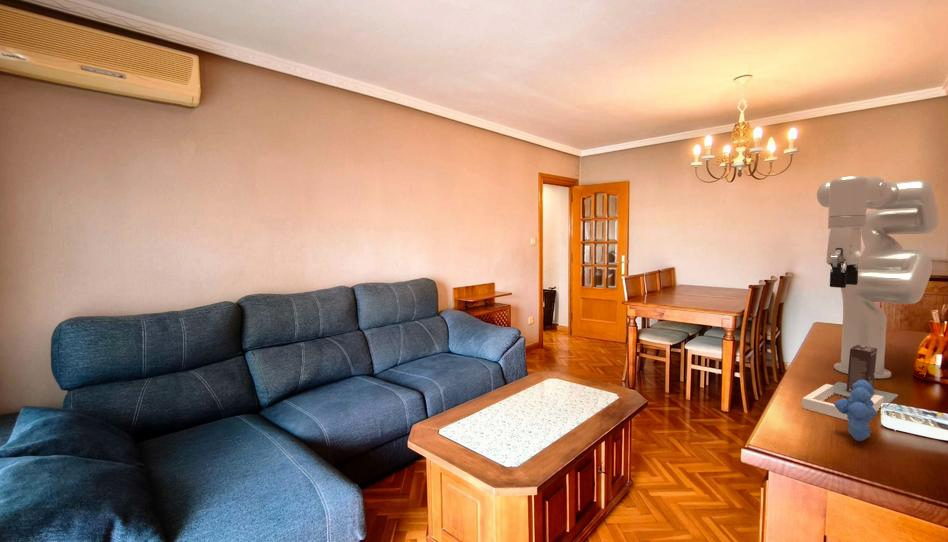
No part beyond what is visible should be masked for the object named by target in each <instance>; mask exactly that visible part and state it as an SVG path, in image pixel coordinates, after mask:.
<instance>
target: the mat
mask: <svg viewBox="0 0 948 542" xmlns="http://www.w3.org/2000/svg"><path fill="white" fill-rule="evenodd" d="M833 385H834V388H833V395H836V394H838V395H837V396H840V395H842V396H841V397H844V396H846V397H845V398H848V397H849V396H850V395H851V394H850V393H849V392H847V391H846V389H847V382H846V383H844V382H840V381H837V382H835V383H834V384H833ZM873 391H874V392H875V393H874V394H872V395H871V396H872V397H873V396H874V395H879V396H884V399H883V403H890V404H891V403H892V402H893V401H895V399H897V398H898V397H899V394H896V393H892V392H888V391H883V390H878V389H874V390H873Z"/></svg>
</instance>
